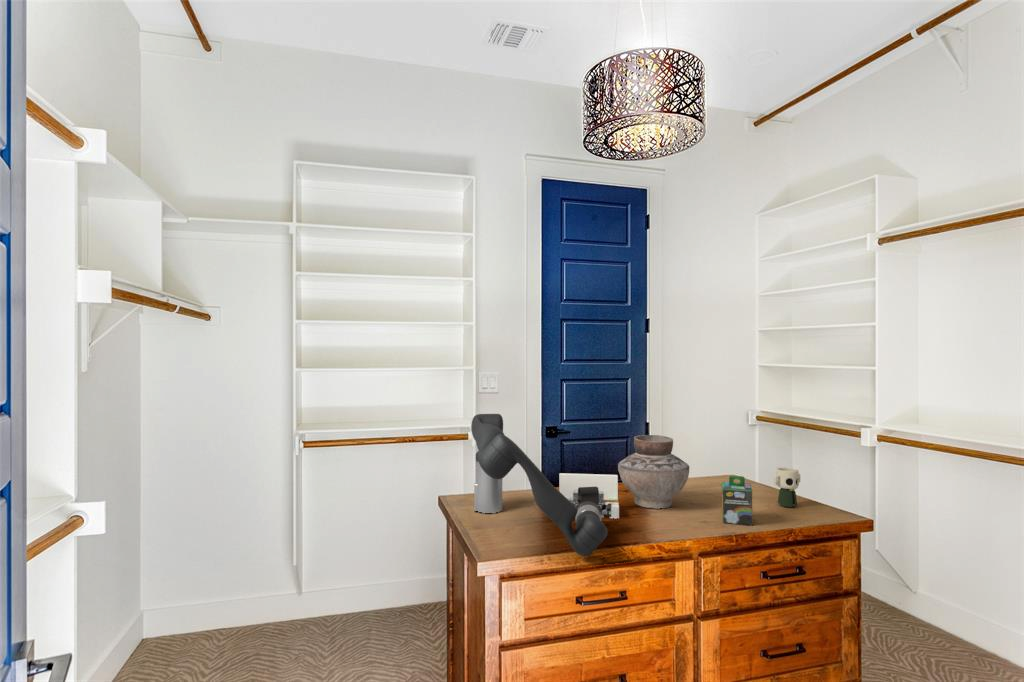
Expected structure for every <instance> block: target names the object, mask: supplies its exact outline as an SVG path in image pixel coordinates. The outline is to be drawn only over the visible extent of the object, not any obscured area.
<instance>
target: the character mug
mask: <svg viewBox="0 0 1024 682" xmlns="http://www.w3.org/2000/svg"><path fill="white" fill-rule="evenodd" d="M773 480H774V485H776V486H777V487H778V488H780V489H779V491H778V497H777V498H778V499H777V504H779V505H781V506H782V507H787V508H789V507H790V508H794V507H798V501H797V493H796V491H795V490H797V489H798V488H799V486H800V485H799V484H800V483H801V474H800V473H799V470H798V469H796V468H793V467H785V466H784V467H777V468H776V473H775V475H774V479H773Z"/></svg>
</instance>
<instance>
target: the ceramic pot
mask: <svg viewBox="0 0 1024 682" xmlns="http://www.w3.org/2000/svg"><path fill="white" fill-rule="evenodd" d="M673 446H674V439H673V437H668V436H664V435H660V434H659V435H657V434H643V435H641V434H640V435H636V436H634V437H633V449H634V451H635V452H634V453H631V454H630V455H628V456H626V457H625V458H624V459H622V460H620V461H619V462H618V464H617V471H618V473H619V477H620V480H621V481H622V484H623V486H625V488H626V489H627V490H628V491H629V492H630V493H631V494H632V495H633V496H634V503H635V505H636V506H639V507H642V508H647V509H655V510H657V509H659V510H660V508H662V509H668V508H670V507H671V506H672V502H673V501H672V499H673V498H675V497H676V496H677V495H678V494H680V492H681V491H682V490H683V488H684V487H685V485H686V483H687V482H688V478H689V475H690V465H689V464H688V463H687V462H685V461H684V460H683V459H681V458H680V457H678V456H676V455H675V454H672V452H673V449H674V447H673Z"/></svg>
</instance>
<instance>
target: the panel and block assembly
mask: <svg viewBox="0 0 1024 682" xmlns="http://www.w3.org/2000/svg"><path fill="white" fill-rule="evenodd" d="M558 474H559V475H558V476H559V477H558V478H559V479H558V480H559V486H558V487H559V489H558V491H559V492H560V493H561V494H563V495H564V496H565V497H566V498H567V499H568V500H569V501H570V502H572V501H573V490H576V491H578V488H579V487H598V490H599V491H603V492H604V499H605V500H619V497H618V496H619V494H618V491H619V490H618V489H619V486H618V485H619V483H618V481H619V480H618V479H619V476H618V474H604V473H603V474H599V473H598V474H594V473H564V472H563V473H562V472H560V473H558ZM605 503H606V505H608V504H609V503H610V504H611V517H609V519H613V518H614V519H617V518H618V519H620V505H619V504H620V503H615V502H605Z"/></svg>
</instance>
